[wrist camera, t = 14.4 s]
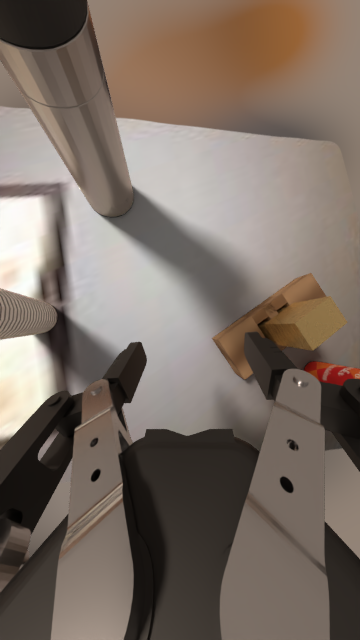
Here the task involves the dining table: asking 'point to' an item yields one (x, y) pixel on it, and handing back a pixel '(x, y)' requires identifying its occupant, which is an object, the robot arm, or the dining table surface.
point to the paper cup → (332, 372)
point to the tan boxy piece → (304, 323)
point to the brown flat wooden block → (234, 335)
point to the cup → (24, 315)
